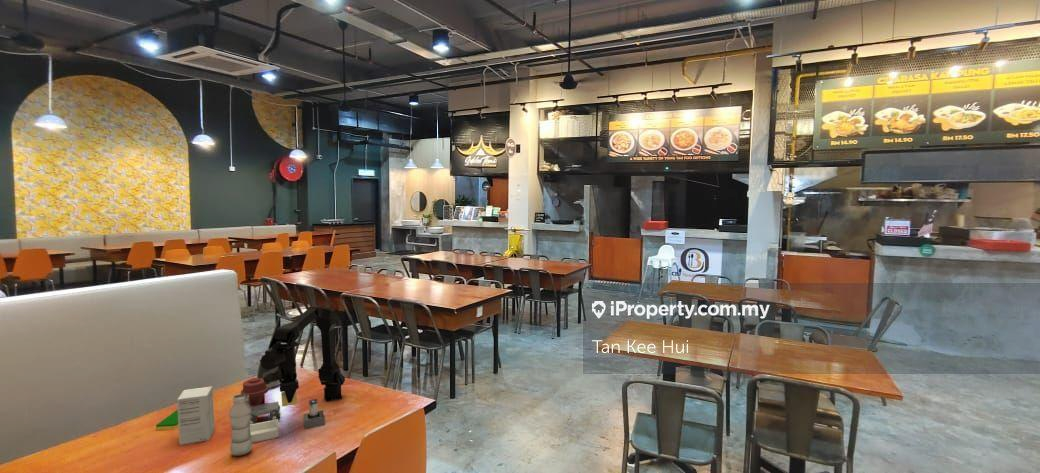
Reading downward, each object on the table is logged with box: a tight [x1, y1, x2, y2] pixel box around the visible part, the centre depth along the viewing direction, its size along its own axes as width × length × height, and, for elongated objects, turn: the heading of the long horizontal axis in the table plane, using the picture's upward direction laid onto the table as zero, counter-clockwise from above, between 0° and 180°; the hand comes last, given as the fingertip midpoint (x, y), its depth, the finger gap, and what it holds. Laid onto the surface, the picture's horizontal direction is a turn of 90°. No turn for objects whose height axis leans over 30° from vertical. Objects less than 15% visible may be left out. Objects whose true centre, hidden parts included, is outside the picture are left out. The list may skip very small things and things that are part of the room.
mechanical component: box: [240, 377, 269, 407], centre depth 195 cm, size 12×10×10 cm
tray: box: [250, 419, 280, 444], centre depth 172 cm, size 12×10×3 cm
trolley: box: [246, 395, 281, 424], centre depth 184 cm, size 12×10×10 cm
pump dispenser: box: [256, 362, 280, 389], centre depth 219 cm, size 10×10×15 cm
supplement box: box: [176, 385, 215, 446], centre depth 171 cm, size 10×9×17 cm
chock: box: [280, 391, 298, 407], centre depth 178 cm, size 5×4×4 cm
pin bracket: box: [302, 409, 326, 430], centre depth 182 cm, size 7×7×3 cm
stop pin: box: [308, 398, 319, 419], centre depth 181 cm, size 3×3×9 cm
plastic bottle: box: [228, 393, 254, 457], centre depth 159 cm, size 6×7×20 cm
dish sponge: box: [155, 409, 179, 431], centre depth 184 cm, size 7×14×2 cm, turn 7°
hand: (289, 400), depth 178 cm, fingers closed on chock, 4 cm apart
